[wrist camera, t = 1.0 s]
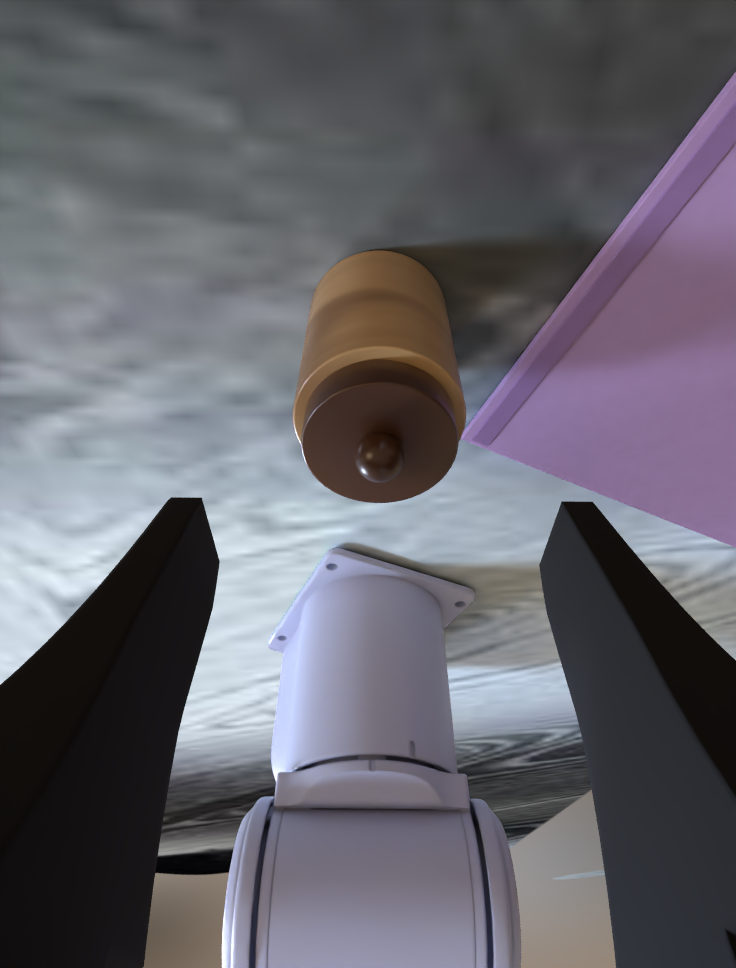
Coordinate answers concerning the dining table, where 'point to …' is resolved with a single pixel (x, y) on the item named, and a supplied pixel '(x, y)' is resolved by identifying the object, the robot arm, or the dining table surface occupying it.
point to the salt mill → (379, 381)
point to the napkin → (643, 352)
